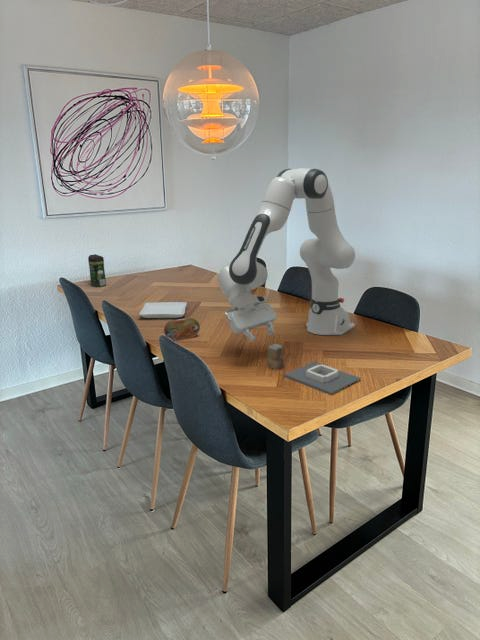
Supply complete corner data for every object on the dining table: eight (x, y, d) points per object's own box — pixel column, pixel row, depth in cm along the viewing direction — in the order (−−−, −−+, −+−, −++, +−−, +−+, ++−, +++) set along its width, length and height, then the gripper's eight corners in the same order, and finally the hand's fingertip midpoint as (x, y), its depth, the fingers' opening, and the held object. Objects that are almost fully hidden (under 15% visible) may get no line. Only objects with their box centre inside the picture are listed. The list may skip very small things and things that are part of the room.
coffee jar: (89, 285, 301) (85, 254, 295) (101, 283, 306) (98, 253, 300) (95, 288, 294) (92, 256, 288) (108, 285, 299) (105, 255, 293)
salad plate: (187, 307, 253) (187, 301, 252) (184, 320, 233) (184, 313, 232) (145, 308, 253) (145, 302, 252) (139, 321, 232) (138, 314, 231)
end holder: (314, 363, 181) (314, 356, 180) (360, 380, 167) (361, 372, 166) (284, 376, 170) (284, 368, 170) (331, 395, 156) (331, 387, 155)
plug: (275, 363, 181) (275, 342, 179) (283, 366, 178) (283, 345, 176) (267, 366, 179) (267, 345, 176) (275, 369, 176) (275, 348, 173)
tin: (166, 342, 204) (164, 322, 202) (163, 340, 207) (162, 320, 204) (200, 336, 210) (199, 317, 208) (197, 334, 213) (196, 315, 210)
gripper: (227, 306, 175) (246, 339, 171) (268, 295, 188) (286, 326, 184) (219, 315, 179) (237, 348, 175) (259, 304, 192) (277, 334, 188)
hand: (263, 336), depth 180 cm, fingers open, 8 cm apart
